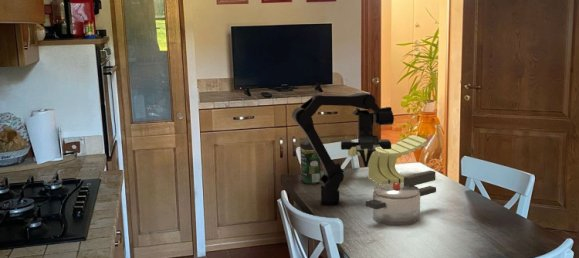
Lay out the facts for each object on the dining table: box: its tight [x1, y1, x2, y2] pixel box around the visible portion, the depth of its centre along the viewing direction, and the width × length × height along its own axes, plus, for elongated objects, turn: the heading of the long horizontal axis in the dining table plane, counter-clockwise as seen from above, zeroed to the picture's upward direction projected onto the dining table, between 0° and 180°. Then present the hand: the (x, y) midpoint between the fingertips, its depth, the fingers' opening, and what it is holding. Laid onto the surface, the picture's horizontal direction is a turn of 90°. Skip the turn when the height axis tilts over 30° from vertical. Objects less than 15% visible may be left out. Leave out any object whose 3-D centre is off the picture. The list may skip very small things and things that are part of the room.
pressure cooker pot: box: [365, 185, 437, 227], centre depth 206 cm, size 31×16×9 cm, turn 126°
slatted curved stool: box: [347, 134, 428, 185], centre depth 256 cm, size 30×16×18 cm, turn 105°
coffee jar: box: [299, 138, 322, 185], centre depth 255 cm, size 10×8×19 cm
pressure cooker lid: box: [373, 170, 436, 199], centre depth 206 cm, size 27×15×4 cm, turn 127°
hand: (365, 166), depth 225 cm, fingers closed
